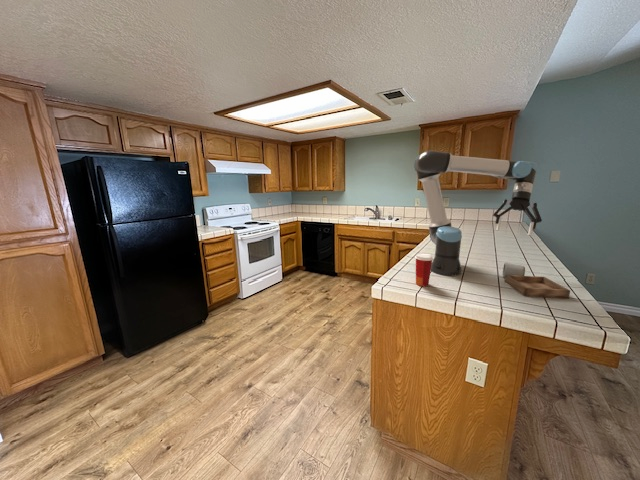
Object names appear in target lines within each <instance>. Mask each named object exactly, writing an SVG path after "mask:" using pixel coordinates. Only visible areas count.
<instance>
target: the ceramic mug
mask: <svg viewBox="0 0 640 480" xmlns="http://www.w3.org/2000/svg"><path fill="white" fill-rule="evenodd" d="M525 274H526V267H525V266H524V265H521V264H517V263H511V262H504V264H503V268H502V274H501V275H502V278H504V279H505V276H506V275H517V276H526V275H525Z"/></svg>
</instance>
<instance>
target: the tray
mask: <svg viewBox="0 0 640 480" xmlns="http://www.w3.org/2000/svg"><path fill="white" fill-rule="evenodd" d="M504 283H505V284H507V286H510V287H511V288H512V289H514V290H515V291H516V292H518V293H519V294H521V295H522V296H523V297H534V298H535V297H537V298H550V299H551V298H552V299H569V298H570V293H571V290H570V289H567V288H566V287H564V286H562V285H560V284H559V283H556V282H555V281H553V280H552V279H550V278H548V277H546V276H538V275H536V276H535V275H524V276H517V275H506V276H505V278H504Z"/></svg>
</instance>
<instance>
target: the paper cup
mask: <svg viewBox="0 0 640 480" xmlns="http://www.w3.org/2000/svg"><path fill="white" fill-rule="evenodd" d="M414 258H415V284H416V285H417V286H419V287H428V286H429V284H430V278H431V277H430V276H431V272H432V271H431V264H432V261H433V259H434V257H433V256H432V255H431V254H429V253H417V254H416V255H415V257H414Z"/></svg>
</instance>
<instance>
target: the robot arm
mask: <svg viewBox="0 0 640 480" xmlns="http://www.w3.org/2000/svg"><path fill="white" fill-rule="evenodd" d="M413 166H414V167H413V168H414V170H415V172H416V175H417V176H416V177H417V180H418V181H419V182H421V184H422V188H423V193H424V197H425V198H424V199H425V202H426V206H427V210H428V211H427V212H428V215H429V216H428V217H429V220H430V223H429V225H428V228H429V239H430V241H431V242H432V244H434V245H435V250H434V251H435V252H434V256H433V260H432V264H431V271H430V272H433V273H435V274H437V275H443V276H451V277H452V276H453V277H454V276H460V275H461V274H462V271H463V270H462V269H463V268H462V265H461V261H460V254H461V243H462V237H463V234H462V230H461V229H460V228H458V227H455V226H452V222H451V220H449V219H448V218H447V213H446V208H445V203H444V199H443V194H442V190H441V184H440V180H439V177H440V176H441V174H442V173H443V174H445V173H447V172H454V173H464V174H475V175H485V176H492V177H494V178H498V179H504V180H511V181H514V186H513V190H512V195H511V199H510V200H508V199H506V198H505V199H504V200H503V201H502V204H501V205H500V207H499V208H498V209H497V210H496V211H495V212H494V213H493V214H492V217H495V225H496V229H495V230H496V231H499V230H500V227H501V223H502V216H504V215H505V214H507V213H508V212H510V211H511V210H513V211H520V212H524V213H525V214H526V215H527V217H528V219H529V220H530V221H531V222H530V224H529V228H528V233H527V236H530V237H531V236H532V234H533V230H535V229H536V228H537V227H536V226H537V224H539V223H541V222H543V219H542V217H541V215H540V212H539V209H538V203H537V202H532V203H531V202H530V200H531V195H532V192H533V186H534V182H535V177H536V174H537V167H538V165H537V163H535V162H533V161H526V160H519V161H517V160H516V161H515V160H507V159H496V158H484V157H474V156H462V155H453V154H452V153H451V152H445V151H439V150H432V149H431V150H430V149H429V150H426V151H424V152H422V153H420V154H418V156H417V157H416V158H415V160H414V164H413ZM508 204H509V205H510V206H509V207H507V208H506V209H505V210H503V208H504V207H505V206H506V205H508ZM529 207H530V208H531V210H532V212H533V214H532V212H531V211H530V208H529ZM501 210H503V211H502V212H501ZM500 212H501V213H500Z"/></svg>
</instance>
